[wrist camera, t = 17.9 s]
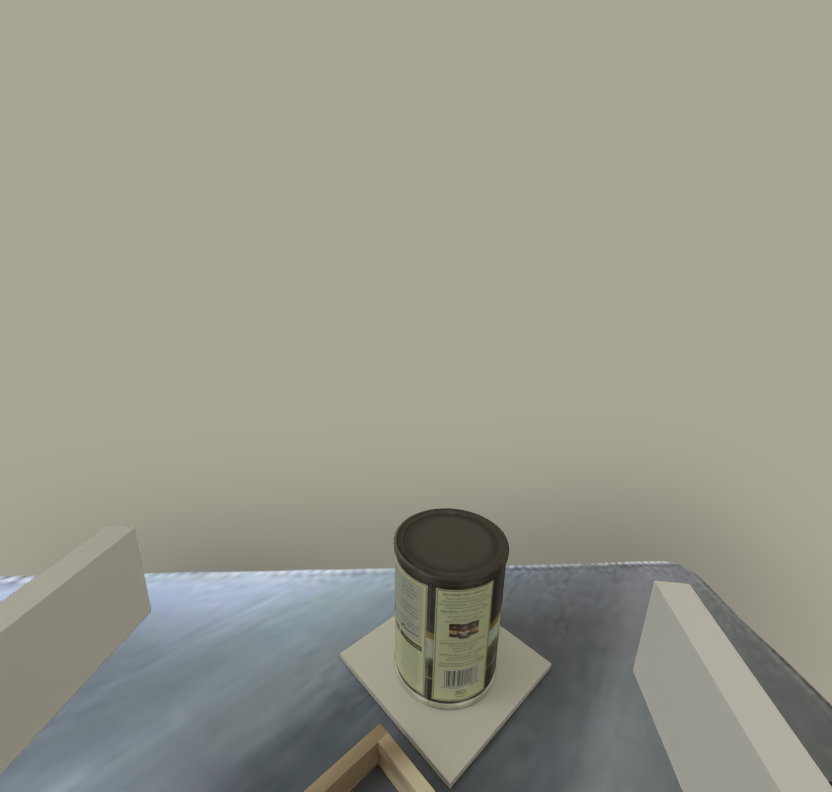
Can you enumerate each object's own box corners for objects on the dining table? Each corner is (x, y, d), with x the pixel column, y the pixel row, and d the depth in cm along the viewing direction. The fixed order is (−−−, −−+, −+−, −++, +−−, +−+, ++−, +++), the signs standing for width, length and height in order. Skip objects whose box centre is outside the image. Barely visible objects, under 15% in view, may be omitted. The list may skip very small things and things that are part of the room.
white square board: (340, 657, 42) (339, 653, 42) (441, 586, 52) (442, 582, 52) (449, 789, 32) (450, 783, 32) (550, 668, 42) (551, 663, 42)
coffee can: (448, 603, 49) (455, 496, 44) (518, 669, 41) (533, 547, 37) (372, 648, 43) (372, 530, 38) (437, 736, 35) (444, 599, 31)
